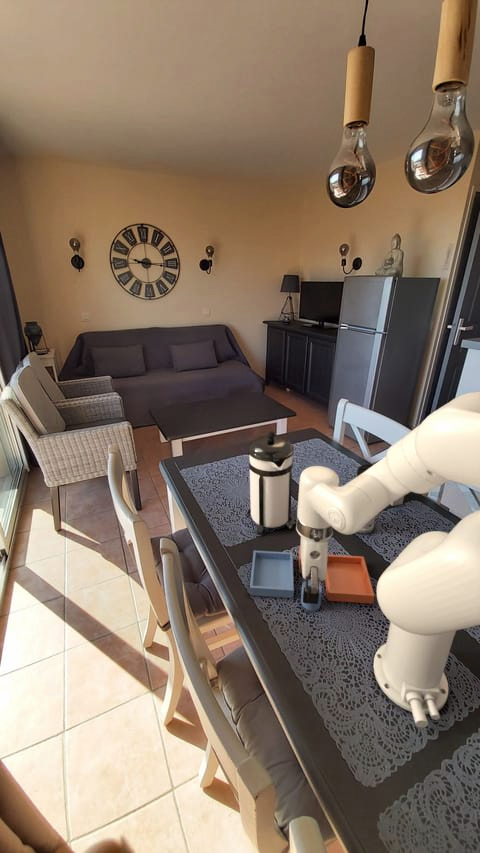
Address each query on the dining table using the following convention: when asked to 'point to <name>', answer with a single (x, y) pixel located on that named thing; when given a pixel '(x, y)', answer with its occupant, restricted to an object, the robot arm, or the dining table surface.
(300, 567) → the terracotta block
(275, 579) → the blue tray
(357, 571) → the terracotta tray
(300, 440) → the dining table surface
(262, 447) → the coffee press
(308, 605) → the blue cylinder
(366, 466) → the travel mug
